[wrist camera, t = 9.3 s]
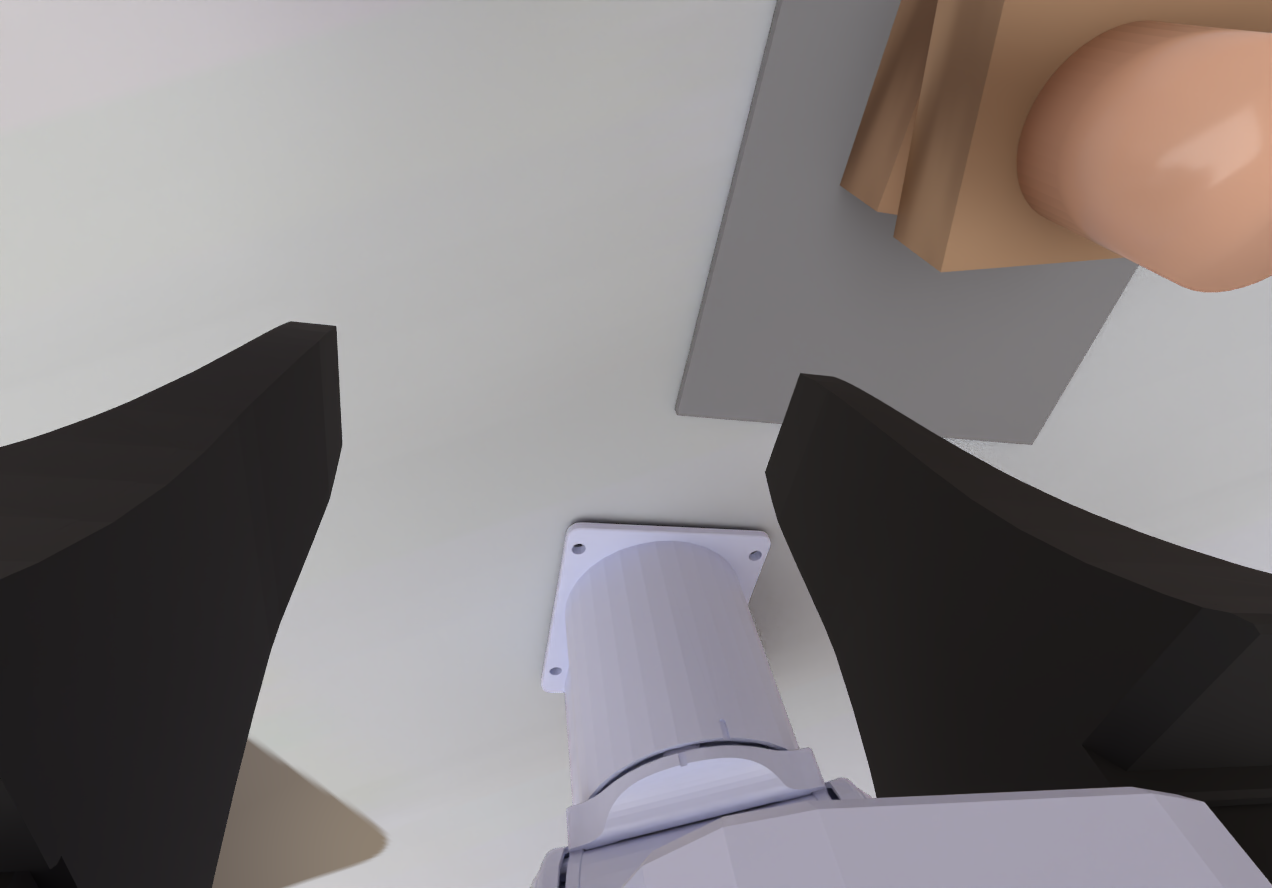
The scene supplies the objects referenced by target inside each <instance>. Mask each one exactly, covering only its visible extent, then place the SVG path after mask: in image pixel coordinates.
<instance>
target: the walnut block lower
mask: <svg viewBox="0 0 1272 888" xmlns="http://www.w3.org/2000/svg"><path fill="white" fill-rule="evenodd" d="M937 3H938V0H901V2H900V5H899V8H898V11H897V14H896V17H895V20H894V23H893V26H892V29H891V32H890V35H889V38H888V41H887V44H886V47H885V50H884V53H883V56H882V59H881V62H880V65H879V68H878V71H877V74H876V77H875V80H874V83H873V86H872V89H871V92H870V95H869V98H868V101H867V104H866V107H865V111H864V114H863V117H862V120H861V123H860V126H859V129H858V132H857V135H856V138H855V141H854V144H853V147H852V150H851V153H850V156H849V159H848V162H847V165H846V168H845V171H844V174H843V177H842V180H841V183H840V186H842V187H843V188H844V189H846V190H847V191H849V192H850V193H851V194H853V195H854V196H856V197H857V198H858V199H860V200H861V201H863V202H864V203H865V204H867V205H868V206H870V207H871V208H872V209H874V210H875V211H877V212H882V213H889V214H895V215H897V214H898V209H899V204H900V199H901V193H902V188H903V183H904V177H905V172H906V167H907V162H908V156H909V151H910V146H911V141H912V135H913V130H914V125H915V119H916V114H917V109H918V104H919V98H920V93H921V88H922V82H923V77H924V72H925V67H926V61H927V56H928V51H929V45H930V40H931V35H932V30H933V24H934V19H935V14H936V8H937Z"/></svg>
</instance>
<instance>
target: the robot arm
mask: <svg viewBox="0 0 1272 888" xmlns="http://www.w3.org/2000/svg"><path fill="white" fill-rule="evenodd" d="M341 448H342V428H341V408H340V389H339V369H338V350H337V331H336V326H330V325H320V324H311V323H301V322H291V321H290V322H288V323H285V324H283V325H281V326H278V327H276V328H274V329H272V330H270V331H268V332H267V333H265V334H263V335H261V336H259V337H257V338H255V339H254V340H252V341H250V342H248V343H246V344H244V345H243V346H241V347H239V348H237V349H235V350H233V351H231V352H230V353H228V354H226V355H224V356H222V357H220V358H218V359H216V360H215V361H213V362H211V363H209V364H207V365H205V366H203V367H201V368H200V369H198V370H196V371H194V372H192V373H190V374H187V375H185V376H183V377H181V378H179V379H177V380H175V381H173V382H170V383H168V384H166V385H164V386H162V387H160V388H158V389H156V390H153V391H151V392H149V393H147V394H145V395H143V396H141V397H139V398H136V399H134V400H132V401H130V402H127V403H125V404H123V405H120V406H118V407H116V408H113V409H111V410H108V411H106V412H103V413H101V414H98V415H96V416H93V417H90V418H88V419H85V420H82V421H79V422H76V423H74V424H71V425H68V426H65V427H63V428H60V429H57V430H54V431H52V432H49V433H46V434H43V435H40V436H37V437H34V438H31V439H27V440H24V441H20V442H17V443H13V444H10V445H6V446H3V447H0V888H212V884H213V880H214V875H215V871H216V866H217V862H218V858H219V853H220V849H221V845H222V841H223V836H224V832H225V828H226V824H227V819H228V815H229V811H230V807H231V802H232V797H233V793H234V789H235V785H236V781H237V777H238V773H239V769H240V765H241V762H242V758H243V753H244V750H245V746H246V742H247V738H248V734H249V730H250V726H251V722H252V718H253V714H254V711H255V707H256V703H257V699H258V696H259V692H260V688H261V685H262V681H263V677H264V674H265V670H266V666H267V663H268V659H269V655H270V652H271V649H272V646H273V643H274V640H275V637H276V634H277V631H278V628H279V625H280V622H281V620H282V617H283V615H284V612H285V610H286V607H287V605H288V602H289V600H290V597H291V595H292V592H293V590H294V587H295V585H296V582H297V580H298V578H299V575H300V573H301V570H302V568H303V565H304V563H305V560H306V558H307V555H308V553H309V550H310V548H311V545H312V543H313V540H314V538H315V535H316V533H317V530H318V528H319V525H320V522H321V520H322V517H323V515H324V512H325V510H326V507H327V504H328V502H329V499H330V495H331V491H332V487H333V483H334V479H335V475H336V471H337V466H338V462H339V457H340V453H341ZM765 474H766V478H767V483H768V487H769V491H770V495H771V499H772V503H773V506H774V509H775V513H776V516H777V520H778V523H779V525H780V527H781V530H782V532H783V535H784V537H785V539H786V542H787V544H788V546H789V548H790V551H791V553H792V555H793V558H794V560H795V562H796V564H797V566H798V569H799V571H800V573H801V575H802V578H803V580H804V582H805V584H806V586H807V589H808V591H809V593H810V595H811V598H812V600H813V602H814V604H815V606H816V609H817V611H818V613H819V615H820V617H821V620H822V622H823V624H824V626H825V629H826V631H827V634H828V636H829V639H830V641H831V644H832V646H833V649H834V651H835V654H836V657H837V660H838V663H839V666H840V669H841V673H842V676H843V679H844V682H845V685H846V688H847V691H848V695H849V698H850V701H851V704H852V707H853V711H854V714H855V718H856V721H857V725H858V728H859V732H860V735H861V739H862V743H863V746H864V750H865V753H866V757H867V760H868V764H869V768H870V772H871V776H872V780H873V784H874V788H875V792H876V797H877V798H872V797H871V796H870V795H868V794H867V793H865V792H863V791H862V790H860V789H859V788H857V787H856V786H855V785H854V784H853V783H852V782H851V781H850V780H848V779H846V778H837V779H834V780H831V781H828V782H826V783H824V780H823V777H822V775H821V772H820V769H819V767H818V764H817V762H816V759H815V756H814V754H813V751H812V749H811V748H802V749H800V748H799V746H798V743H797V740H796V737H795V735H794V732H793V729H792V726H791V724H790V721H789V718H788V715H787V712H786V710H785V707H784V704H783V701H782V699H781V696H780V693H779V690H778V688H777V685H776V682H775V679H774V676H773V674H772V671H771V668H770V665H769V663H768V660H767V657H766V654H765V652H764V649H763V646H762V643H761V640H760V638H759V635H758V632H757V629H756V627H755V624H754V621H753V618H752V616H751V613H750V610H749V607H748V603H749V600H750V598H751V595H752V593H753V590H754V587H755V585H756V582H757V580H758V577H759V575H760V572H761V569H762V567H763V564H764V562H765V559H766V556H767V554H768V551H769V549H770V546H771V541H770V539H769V537H768V535H767V533H765V532H763V531H754V530H733V529H712V528H690V527H669V526H648V525H627V524H605V523H584V522H581V523H575V524H573V525H571V526H570V527H569V528H568V530H567V532H566V538H565V543H564V549H563V555H562V561H561V567H560V572H559V578H558V584H557V590H556V596H555V601H554V607H553V613H552V619H551V625H550V630H549V636H548V642H547V648H546V654H545V659H544V665H543V671H542V677H541V687H542V689H543V690H544V691H546V692H549V693H565V704H566V718H567V732H568V746H569V761H570V775H571V789H572V803H573V806H570V807H568V808H567V809H566V816H567V832H568V846H567V847H561V848H555V849H552V850H550V851H549V852H548V853H547V854H546V856H545V857H544V859H543V861H542V864H541V867H540V870H539V871H538V873H537V875H536V877H535V878H534V880H533V882H532V884H531V887H530V888H1272V574H1270V573H1267V572H1263V571H1259V570H1255V569H1251V568H1248V567H1244V566H1241V565H1238V564H1234V563H1231V562H1228V561H1225V560H1222V559H1219V558H1215V557H1212V556H1209V555H1206V554H1203V553H1200V552H1196V551H1193V550H1190V549H1187V548H1184V547H1181V546H1178V545H1175V544H1172V543H1169V542H1166V541H1164V540H1161V539H1158V538H1155V537H1152V536H1149V535H1146V534H1144V533H1141V532H1138V531H1136V530H1133V529H1131V528H1128V527H1126V526H1123V525H1120V524H1118V523H1115V522H1113V521H1110V520H1108V519H1105V518H1102V517H1100V516H1097V515H1095V514H1092V513H1090V512H1088V511H1085V510H1083V509H1080V508H1078V507H1076V506H1073V505H1071V504H1069V503H1066V502H1064V501H1062V500H1060V499H1058V498H1056V497H1053V496H1051V495H1049V494H1047V493H1045V492H1043V491H1041V490H1039V489H1036V488H1034V487H1032V486H1030V485H1028V484H1026V483H1024V482H1022V481H1020V480H1018V479H1016V478H1014V477H1012V476H1010V475H1008V474H1006V473H1004V472H1002V471H1000V470H998V469H996V468H994V467H993V466H991V465H989V464H987V463H985V462H984V461H982V460H980V459H978V458H976V457H975V456H973V455H971V454H969V453H967V452H966V451H964V450H962V449H960V448H959V447H957V446H955V445H953V444H952V443H950V442H948V441H947V440H945V439H943V438H941V437H940V436H938V435H936V434H935V433H933V432H931V431H930V430H928V429H926V428H925V427H923V426H922V425H920V424H918V423H917V422H915V421H913V420H912V419H910V418H908V417H907V416H905V415H904V414H902V413H900V412H899V411H897V410H895V409H894V408H892V407H890V406H889V405H887V404H885V403H884V402H882V401H880V400H879V399H877V398H875V397H874V396H872V395H870V394H868V393H867V392H865V391H863V390H861V389H860V388H858V387H856V386H854V385H852V384H850V383H848V382H846V381H844V380H841V379H839V378H836V377H834V376H824V375H814V374H804V373H800V375H799V377H798V380H797V383H796V386H795V389H794V392H793V394H792V397H791V400H790V403H789V406H788V409H787V411H786V414H785V417H784V420H783V423H782V426H781V428H780V431H779V434H778V437H777V440H776V443H775V445H774V448H773V451H772V454H771V457H770V460H769V462H768V465H767V468H766V471H765ZM576 544H583V545H582V546H581V547H574V545H576ZM754 551H757V552H756V553H753V554H750V553H752V552H754ZM554 667H555V668H554Z"/></svg>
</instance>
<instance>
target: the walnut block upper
mask: <svg viewBox="0 0 1272 888" xmlns="http://www.w3.org/2000/svg"><path fill="white" fill-rule="evenodd" d="M1145 20H1151V21H1163V22H1172V23H1182V24H1191V25H1200V26H1210V27H1219V28H1228V29H1238V30H1247V31H1256V32H1266V33H1271V31H1272V0H938V3H937V8H936V14H935V19H934V24H933V30H932V35H931V40H930V45H929V51H928V56H927V61H926V67H925V72H924V77H923V82H922V88H921V93H920V98H919V104H918V109H917V114H916V119H915V125H914V130H913V135H912V141H911V146H910V151H909V156H908V162H907V167H906V172H905V177H904V183H903V188H902V193H901V199H900V204H899V209H898V214H897V220H896V225H895V230H894V236H893V237H894V238H895V239H897V240H898V241H899V242H901V243H902V244H903V245H905V246H906V247H907V248H909V249H910V250H911V251H913V252H914V253H915V254H917V255H918V256H919V257H921V258H922V259H923V260H925V261H926V262H927V263H929V264H930V265H931V266H933V267H934V268H935V269H937V270H938V271H940V272H951V271H964V270H976V269H989V268H1001V267H1013V266H1026V265H1038V264H1051V263H1063V262H1076V261H1088V260H1101V259H1113V258H1124V257H1122V256H1120V255H1118V254H1116V253H1114V252H1112V251H1110V250H1108V249H1106V248H1104V247H1102V246H1100V245H1098V244H1096V243H1094V242H1092V241H1090V240H1088V239H1086V238H1084V237H1082V236H1080V235H1078V234H1076V233H1074V232H1072V231H1070V230H1068V229H1066V228H1064V227H1062V226H1060V225H1058V224H1056V223H1054V222H1052V221H1050V220H1048V219H1046V218H1044V217H1043V216H1041V215H1039V214H1038V213H1037V212H1036V211H1034V210H1033V209H1032V208H1031V206H1030V205H1029V204H1028V203H1027V201H1026V200H1025V198H1024V196H1023V194H1022V192H1021V189H1020V185H1019V182H1018V176H1017V152H1018V145H1019V140H1020V136H1021V132H1022V129H1023V126H1024V123H1025V121H1026V118H1027V116H1028V114H1029V112H1030V109H1031V107H1032V105H1033V103H1034V102H1035V100H1036V98H1037V96H1038V95H1039V93H1040V91H1041V90H1042V89H1043V87H1044V86H1045V84H1046V83H1047V81H1048V80H1049V79H1050V77H1051V76H1052V75H1053V74H1054V73H1055V71H1056V70H1057V69H1058V68H1059V67H1060V66H1061V65H1062V64H1063V63H1064V62H1065V61H1066V60H1067V59H1068V58H1069V57H1070V56H1071V55H1072V54H1073V53H1074V52H1076V51H1077V50H1078V49H1079V48H1080V47H1082V46H1083V45H1084V44H1086V43H1087V42H1089V41H1090V40H1092V39H1093V38H1095V37H1096V36H1098V35H1100V34H1102V33H1104V32H1106V31H1108V30H1110V29H1112V28H1115V27H1117V26H1120V25H1123V24H1127V23H1131V22H1135V21H1145Z"/></svg>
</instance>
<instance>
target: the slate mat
mask: <svg viewBox="0 0 1272 888" xmlns="http://www.w3.org/2000/svg"><path fill="white" fill-rule="evenodd" d="M900 2H901V0H777V4H776V8H775V12H774V16H773V20H772V24H771V28H770V32H769V36H768V40H767V44H766V48H765V52H764V56H763V60H762V64H761V68H760V72H759V76H758V80H757V84H756V88H755V92H754V96H753V100H752V104H751V108H750V112H749V116H748V120H747V124H746V128H745V132H744V136H743V140H742V144H741V148H740V152H739V156H738V160H737V164H736V168H735V172H734V176H733V180H732V184H731V188H730V192H729V196H728V199H727V203H726V207H725V211H724V215H723V219H722V223H721V227H720V231H719V235H718V239H717V243H716V247H715V251H714V255H713V259H712V263H711V267H710V271H709V275H708V279H707V283H706V287H705V291H704V295H703V299H702V303H701V307H700V311H699V315H698V319H697V323H696V327H695V331H694V335H693V339H692V343H691V347H690V351H689V355H688V359H687V363H686V367H685V371H684V375H683V379H682V383H681V387H680V391H679V395H678V399H677V403H676V407H675V411H676V413H677V415H681V416H693V417H705V418H717V419H729V420H741V421H753V422H765V423H777V424H782V423H783V420H784V417H785V414H786V411H787V409H788V406H789V403H790V400H791V397H792V394H793V392H794V389H795V386H796V383H797V380H798V377H799V375H800V373H804V374H814V375H824V376H834V377H836V378H839V379H841V380H844V381H846V382H848V383H850V384H852V385H854V386H856V387H858V388H860V389H861V390H863V391H865V392H867V393H868V394H870V395H872V396H874V397H875V398H877V399H879V400H880V401H882V402H884V403H885V404H887V405H889V406H890V407H892V408H894V409H895V410H897V411H899V412H900V413H902V414H904V415H905V416H907V417H908V418H910V419H912V420H913V421H915V422H917V423H918V424H920V425H922V426H923V427H925V428H926V429H928V430H930V431H931V432H933V433H935V434H936V435H938V436H940V437H945V438H957V439H969V440H980V441H992V442H1004V443H1016V444H1028V445H1032V444H1033V442H1034V441H1035V439H1036V437H1037V436H1038V434H1039V432H1040V430H1041V429H1042V427H1043V425H1044V424H1045V422H1046V420H1047V419H1048V417H1049V415H1050V414H1051V412H1052V410H1053V409H1054V407H1055V405H1056V404H1057V402H1058V400H1059V398H1060V397H1061V395H1062V393H1063V392H1064V390H1065V388H1066V387H1067V385H1068V383H1069V382H1070V380H1071V378H1072V377H1073V375H1074V373H1075V372H1076V370H1077V368H1078V366H1079V365H1080V363H1081V361H1082V360H1083V358H1084V356H1085V355H1086V353H1087V351H1088V350H1089V348H1090V346H1091V345H1092V343H1093V341H1094V340H1095V338H1096V336H1097V334H1098V333H1099V331H1100V329H1101V328H1102V326H1103V324H1104V323H1105V321H1106V319H1107V318H1108V316H1109V314H1110V313H1111V311H1112V309H1113V307H1114V306H1115V304H1116V302H1117V301H1118V299H1119V297H1120V296H1121V294H1122V292H1123V291H1124V289H1125V287H1126V286H1127V284H1128V282H1129V281H1130V279H1131V277H1132V275H1133V274H1134V272H1135V270H1136V269H1137V267H1138V264H1136V263H1134V262H1132V261H1130V260H1128V259H1126V258H1113V259H1101V260H1088V261H1076V262H1063V263H1051V264H1038V265H1026V266H1013V267H1001V268H989V269H976V270H964V271H951V272H940V271H938V270H937V269H935V268H934V267H933V266H931V265H930V264H929V263H927V262H926V261H925V260H923V259H922V258H921V257H919V256H918V255H917V254H915V253H914V252H913V251H911V250H910V249H909V248H907V247H906V246H905V245H903V244H902V243H901V242H899V241H898V240H897V239H895V238H894V237H893V236H894V230H895V225H896V220H897V215H895V214H889V213H882V212H877V211H875V210H874V209H872V208H871V207H870V206H868V205H867V204H865V203H864V202H863V201H861V200H860V199H858V198H857V197H856V196H854V195H853V194H851V193H850V192H849V191H847V190H846V189H844V188H843V187H842V186H840V183H841V180H842V177H843V174H844V171H845V168H846V165H847V162H848V159H849V156H850V153H851V150H852V147H853V144H854V141H855V138H856V135H857V132H858V129H859V126H860V123H861V120H862V117H863V114H864V111H865V107H866V104H867V101H868V98H869V95H870V92H871V89H872V86H873V83H874V80H875V77H876V74H877V71H878V68H879V65H880V62H881V59H882V56H883V53H884V50H885V47H886V44H887V41H888V38H889V35H890V32H891V29H892V26H893V23H894V20H895V17H896V14H897V11H898V8H899V5H900ZM1271 33H1272V31H1271Z"/></svg>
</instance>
